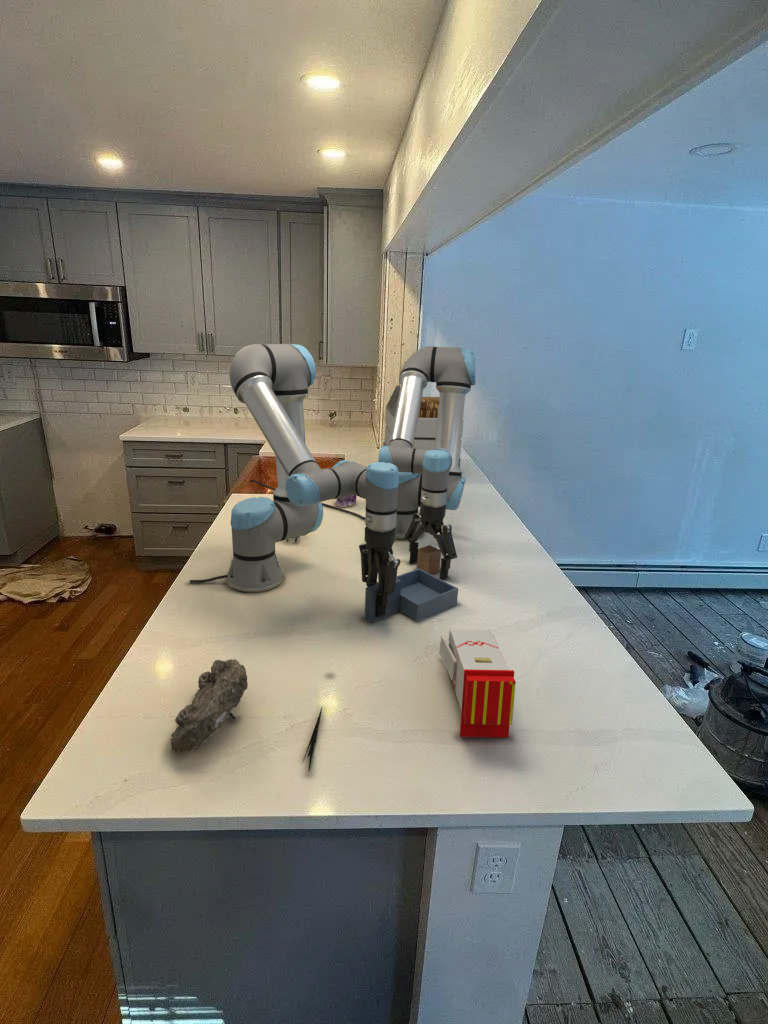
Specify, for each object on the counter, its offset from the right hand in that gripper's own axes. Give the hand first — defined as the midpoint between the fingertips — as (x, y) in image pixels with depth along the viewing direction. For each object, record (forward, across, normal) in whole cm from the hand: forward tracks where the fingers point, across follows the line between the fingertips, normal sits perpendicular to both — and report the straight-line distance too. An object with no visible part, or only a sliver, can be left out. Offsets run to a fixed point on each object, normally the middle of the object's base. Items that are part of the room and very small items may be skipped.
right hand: (428, 570), depth 173 cm
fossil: (0, +22, -79) cm, 82 cm away
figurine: (0, -63, +16) cm, 65 cm away
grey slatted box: (0, -80, +73) cm, 108 cm away
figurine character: (0, -46, -19) cm, 50 cm away
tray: (0, +12, -21) cm, 24 cm away
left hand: (-1, +12, -30) cm, 33 cm away
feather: (0, +35, -64) cm, 73 cm away
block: (0, 0, 0) cm, 0 cm away
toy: (0, +47, -34) cm, 58 cm away
